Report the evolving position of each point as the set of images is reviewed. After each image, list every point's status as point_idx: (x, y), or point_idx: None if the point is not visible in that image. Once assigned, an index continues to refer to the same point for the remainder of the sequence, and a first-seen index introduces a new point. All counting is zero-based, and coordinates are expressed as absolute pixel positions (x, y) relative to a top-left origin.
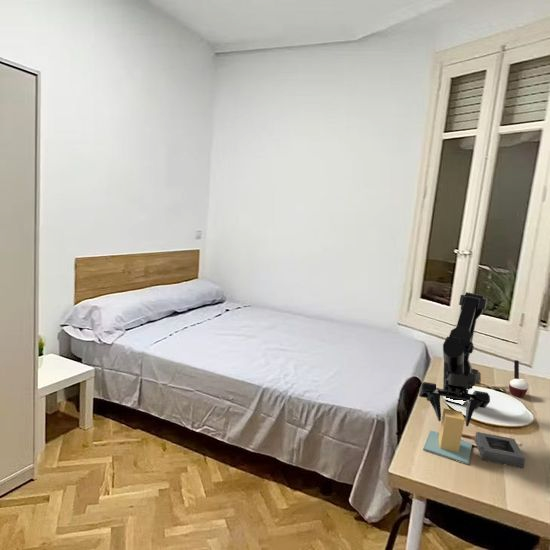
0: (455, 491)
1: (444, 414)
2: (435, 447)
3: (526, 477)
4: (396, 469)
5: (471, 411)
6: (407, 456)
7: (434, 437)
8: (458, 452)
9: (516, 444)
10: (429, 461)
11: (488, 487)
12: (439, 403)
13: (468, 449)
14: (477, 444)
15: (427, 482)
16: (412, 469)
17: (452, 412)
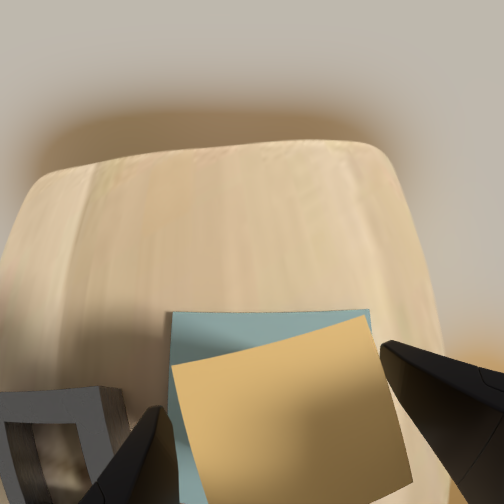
0: (215, 148)
1: (382, 396)
2: None
3: (9, 343)
4: (380, 155)
5: (96, 500)
6: (391, 231)
7: None
8: None
9: (6, 489)
10: (321, 246)
11: (119, 216)
12: (496, 400)
13: (178, 434)
14: None
15: (293, 143)
16: (349, 174)
17: (318, 465)
